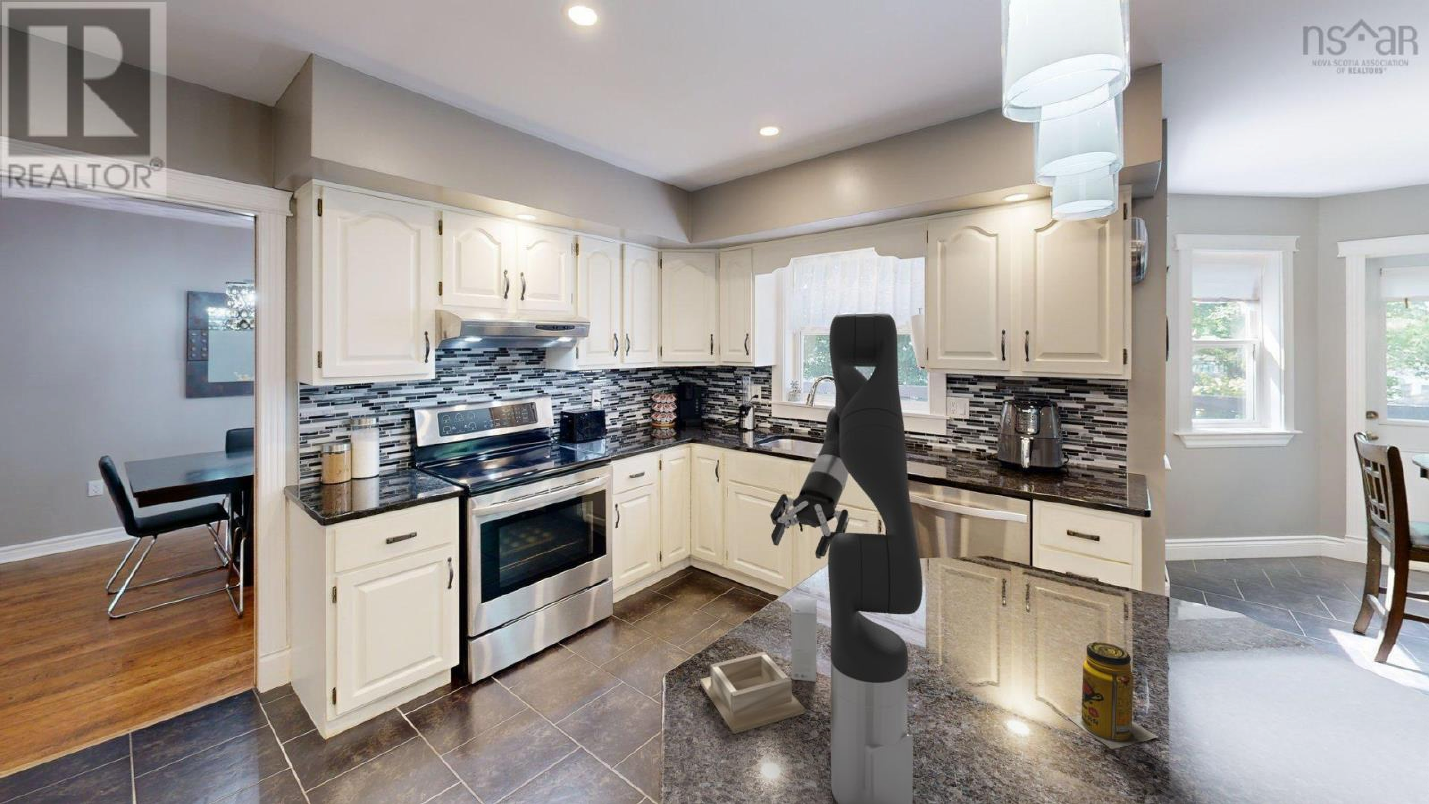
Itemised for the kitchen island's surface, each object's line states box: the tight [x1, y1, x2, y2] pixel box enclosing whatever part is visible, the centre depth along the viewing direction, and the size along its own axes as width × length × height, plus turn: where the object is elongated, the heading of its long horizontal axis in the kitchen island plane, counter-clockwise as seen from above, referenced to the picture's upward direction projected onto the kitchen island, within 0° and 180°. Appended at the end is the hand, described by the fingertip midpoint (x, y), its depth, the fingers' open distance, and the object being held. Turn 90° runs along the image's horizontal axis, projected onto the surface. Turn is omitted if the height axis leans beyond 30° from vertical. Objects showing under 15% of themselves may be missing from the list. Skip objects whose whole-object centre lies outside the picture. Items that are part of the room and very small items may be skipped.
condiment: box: [1067, 641, 1159, 750], centre depth 82 cm, size 7×8×12 cm
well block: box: [699, 651, 806, 735], centre depth 91 cm, size 14×12×4 cm
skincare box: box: [790, 597, 818, 682], centre depth 98 cm, size 6×4×12 cm
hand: (795, 549), depth 104 cm, fingers open, 8 cm apart
